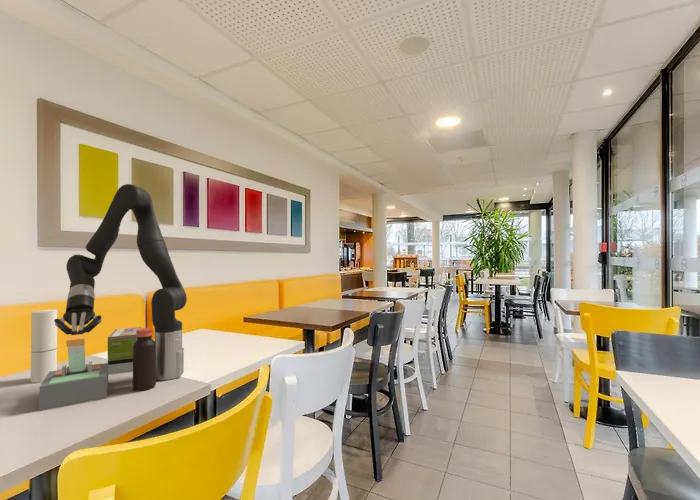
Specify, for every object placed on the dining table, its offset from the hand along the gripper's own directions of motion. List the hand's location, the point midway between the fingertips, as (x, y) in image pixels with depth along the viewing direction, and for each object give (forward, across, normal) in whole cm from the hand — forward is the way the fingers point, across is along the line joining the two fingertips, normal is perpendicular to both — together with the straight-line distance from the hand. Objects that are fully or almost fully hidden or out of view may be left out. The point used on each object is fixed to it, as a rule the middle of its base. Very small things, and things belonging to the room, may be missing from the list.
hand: (76, 343), depth 109 cm
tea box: (-6, +13, +32) cm, 35 cm away
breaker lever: (+5, 0, +9) cm, 10 cm away
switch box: (+11, 0, +14) cm, 18 cm away
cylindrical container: (-7, -12, +32) cm, 35 cm away
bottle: (+14, +19, +11) cm, 26 cm away
